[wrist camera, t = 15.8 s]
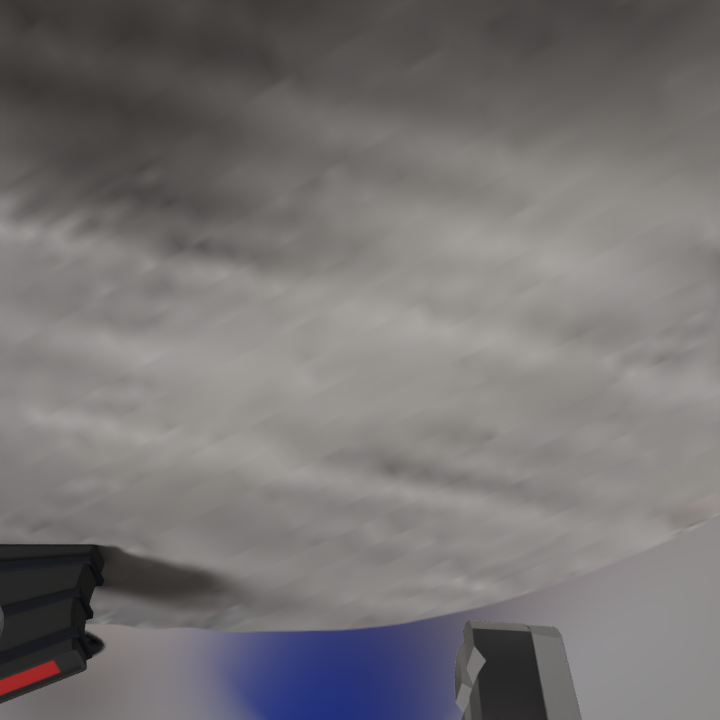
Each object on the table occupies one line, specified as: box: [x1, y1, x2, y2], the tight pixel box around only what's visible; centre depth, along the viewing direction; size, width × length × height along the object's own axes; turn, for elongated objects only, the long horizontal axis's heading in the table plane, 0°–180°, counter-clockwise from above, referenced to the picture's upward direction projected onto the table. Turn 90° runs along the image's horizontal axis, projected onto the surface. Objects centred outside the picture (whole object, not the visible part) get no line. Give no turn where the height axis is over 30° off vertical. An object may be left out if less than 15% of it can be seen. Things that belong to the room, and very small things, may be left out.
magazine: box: [0, 545, 104, 704], centre depth 55 cm, size 4×13×15 cm, turn 93°
